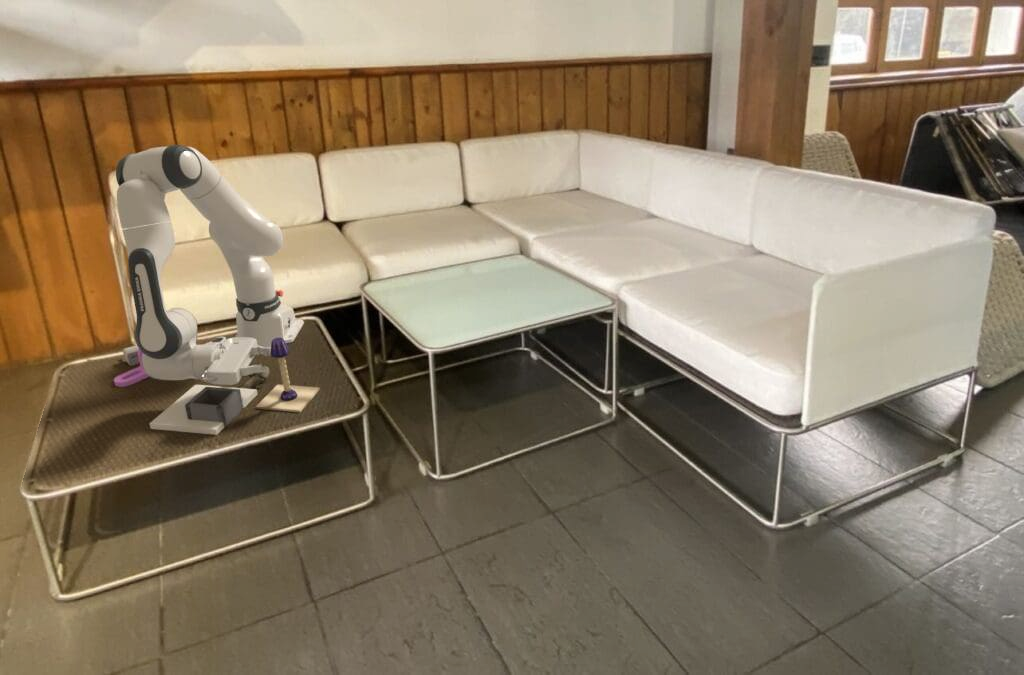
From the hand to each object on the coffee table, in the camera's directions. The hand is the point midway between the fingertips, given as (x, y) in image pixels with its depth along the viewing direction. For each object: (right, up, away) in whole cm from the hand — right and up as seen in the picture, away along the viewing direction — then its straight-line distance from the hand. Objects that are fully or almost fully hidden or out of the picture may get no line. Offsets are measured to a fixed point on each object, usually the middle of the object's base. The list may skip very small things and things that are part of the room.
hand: (266, 359), depth 189 cm
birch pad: (+4, -10, +5) cm, 12 cm away
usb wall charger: (-48, -1, +28) cm, 55 cm away
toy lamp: (+4, -10, +5) cm, 12 cm away
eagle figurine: (-8, -8, +12) cm, 17 cm away
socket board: (-15, -13, 0) cm, 20 cm away
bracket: (-42, -6, +18) cm, 46 cm away
